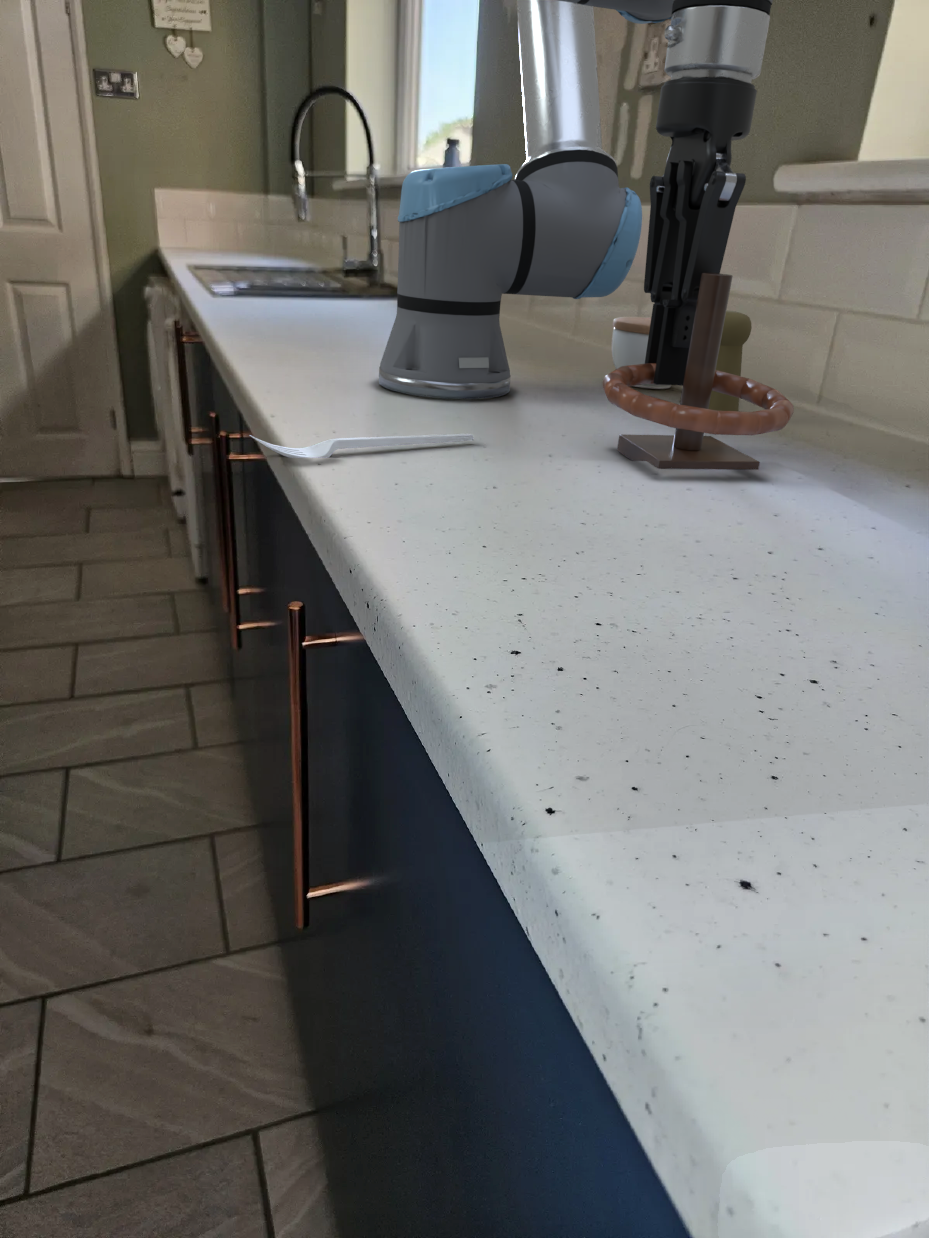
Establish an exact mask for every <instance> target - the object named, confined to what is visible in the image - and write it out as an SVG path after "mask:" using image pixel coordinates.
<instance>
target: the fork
mask: <svg viewBox="0 0 929 1238" xmlns="http://www.w3.org/2000/svg"><path fill="white" fill-rule="evenodd" d="M249 437H251V438H252V439H254V440H255V441H256V442H258V443H259V444H261V445H263V446H264V447H266V448H267V449H269V450H270V451H273V452H275V453H277V454H279V455H281V456H283V457H286V458H291V459H292V458H293V459H294V458H297V459H298V458H299V459H301V458H302V459H304V458H305V459H310V458H311V459H328V458H330V457H331V456H332V455H333V453H334V452H335V451H337V450H342V449H343V450H344V449H359V448H374V447H376V448H377V447H391V446H407V445H422V444H437V443H439V444H440V443H454V442H470V441H475V438H474V435H473V434H472V433H446V434H442V433H441V434H420V435H416V434H415V435H392V436H389V435H388V436H364V437H340V438H339V437H337V438H330V439H326V440H323V441H321V442H318V443H315V444H312V445H309V446H305V447H287V446H282V445H277V444H272V443H270V442H268V441H264V440H261V439H259V438H257V437H255V436H253V435H251V434H249Z"/></svg>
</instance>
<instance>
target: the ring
mask: <svg viewBox="0 0 929 1238" xmlns="http://www.w3.org/2000/svg"><path fill="white" fill-rule="evenodd" d="M655 369H656V364H653V363H646V364H637V365H628V366H622V367H619V368H618V369H616V368H615V369H614V370H613V371H611V372H609V373H607V374H606V375H604V377H603V379H602V389H603V392H604V393H605V394H604V395H605V396H606V398H607V400H608V401H609V402H610V404H612V405H614V406H615V407H617V408H619V409H621V410H622V411H625V412H627V413H628V414H630V415H632V416H634V417H636V418H640V419H643V420H645V421H648V422H652V423H656V424H659V425H663V426H665V427H669V428H673V429H676V428H678V429H684V430H690V431H696V432H702V433H704V434H709V435H716V436H717V435H719V436H723V435H724V436H750V437H751V436H757V435H763V434H767V433H772V432H773V433H774V432H778V431H780V430H781V431H782V430H783V429H784V428H785V427H786V426H787V424H788V423H789V421H790V420H791V418H792V417H793V415H794V413H795V407H794V405H793V403H792V402H791V401H790V400H789V399H788V398H787V397H786V396H785V395H784V394H783V393H782V392H780V390H778V389H776V388H773V387H772V386H769V385H766V384H764V383H762V382H759V381H757V380H755V379H752V378H748V377H746V376H742V375H741V376H737V375H733V374H730V373H726V372H722V371H718V370H715V375H714V381H713V386H712V391H715V392H719V393H723V394H726V395H730V396H734V397H737V398H739V399H742V400H744V401H746V402H749V403H750V404H753V405H755V406H758V407H759V408H762V409H760V410H754V411H742V410H741V411H740V410H738V411H717V410H711V409H705V408H698V407H692V406H686V405H680V403H675V402H672V401H669V400H664V399H661V398H658V397H655V396H651V395H648V394H644V393H642V392H640V391H638V390H636V389H634V388H632V387H635V386H636V385H644V384H654V383H653V382H654V375H655ZM679 386H681V387H683V385H679Z"/></svg>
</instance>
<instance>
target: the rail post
mask: <svg viewBox="0 0 929 1238" xmlns="http://www.w3.org/2000/svg"><path fill="white" fill-rule="evenodd" d="M732 282H733V274H727V273H720V274H718V273H702V276H701V282H700V287H699V293H698V299H697V305H696V311H695V317H694V323H693V329H692V335H691V341H690V347H689V353H688V359H687V365H686V371H685V377H684V383H683V386H682V389H681V396H680V401H679V404H680V405H686V406H692V407H698V408H705V409H708V408H709V403H710V397H711V392H712V386H713V381H714V375H715V370H716V365H717V359H718V354H719V348H720V343H721V337H722V332H723V326H724V321H725V315H726V310H728V303H729V299H730V293H731V287H732ZM616 451H617V452H618V453H620V454H621V455H623V456H624V457H625V458H627V459H628V460H630V461H631V462H648V463H649V464H651V465H652V466H654V467H655V468H656V469H661V470H662V469H663V470H666V469H667V470H675V469H676V470H759V468H760V463H761V462H760V461H759V460H757V459H756V458H753V457H752V456H750V455H748V454H746V453H744V452H742V451H740V450H738V449H736V448H734V447H732V446H730V445H729V444H726V443H725V442H723V441H721V440H719V439H717V438H715V437H714V436H711V435H705V433H702V432H696V431H690V430H684V429H678V428H675V430H674V434H673V435H672V434H623V433H622V434H621V433H620V434H618V442H617V449H616Z"/></svg>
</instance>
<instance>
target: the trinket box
mask: <svg viewBox="0 0 929 1238" xmlns="http://www.w3.org/2000/svg"><path fill="white" fill-rule="evenodd" d="M650 323H651V317H647V316H618V317H614V319H612V328H613V329H612V334H611V335H612V336H611V357H612V362H613V366H614V368H615V370H616V369H618V368H619V367H622V366H628V365H637V364H645V358H646V351H647V344H648V337H649V330H650ZM634 387H636V388H641V389H651V390H652V389H653V390H665V389H666V390H667V389H671V387H672V385H657V384H644V385H636V386H634Z"/></svg>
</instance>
